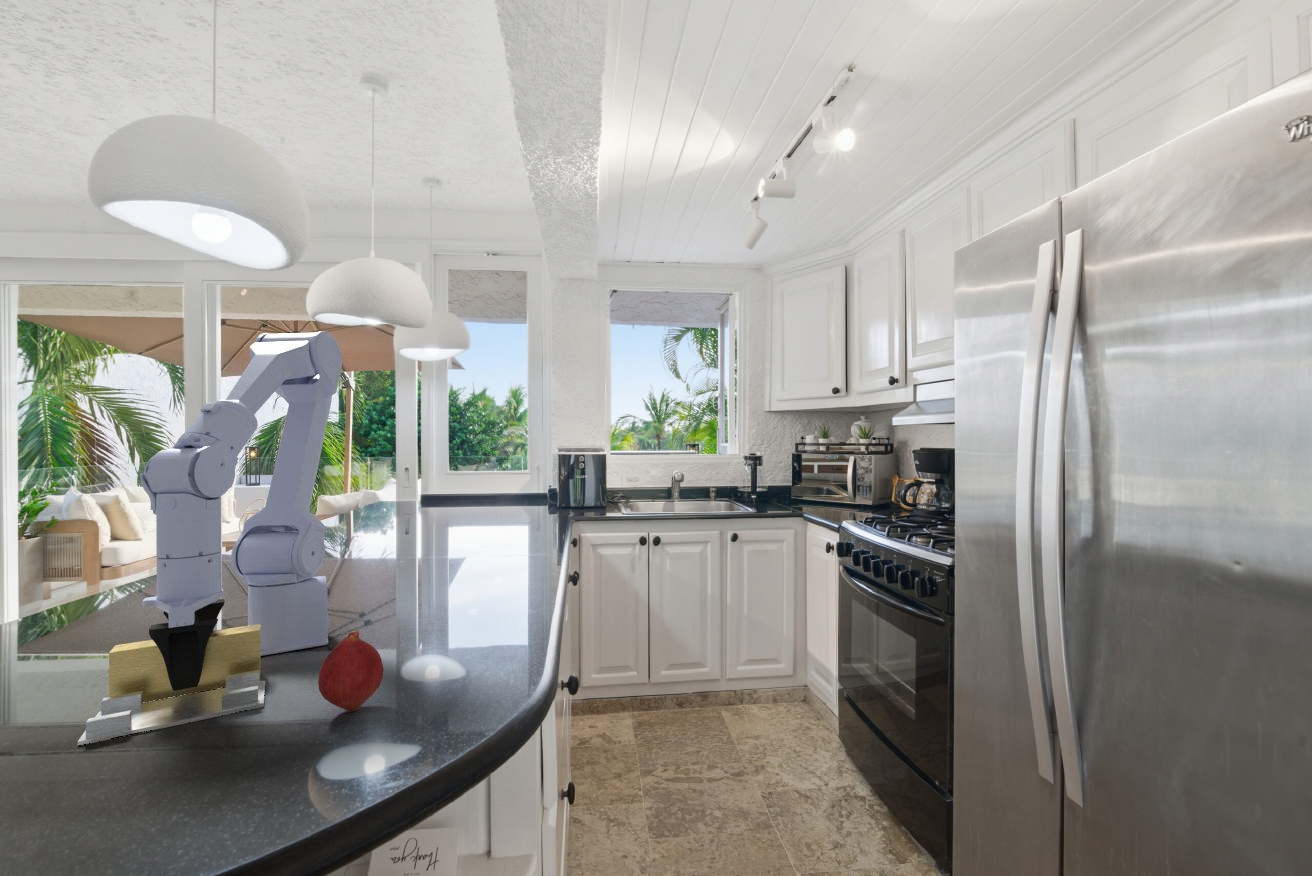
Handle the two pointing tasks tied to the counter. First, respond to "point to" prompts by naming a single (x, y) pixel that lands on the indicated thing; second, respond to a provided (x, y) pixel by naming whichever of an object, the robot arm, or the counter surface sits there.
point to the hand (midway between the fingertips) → (190, 676)
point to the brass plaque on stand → (148, 673)
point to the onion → (350, 673)
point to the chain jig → (173, 708)
